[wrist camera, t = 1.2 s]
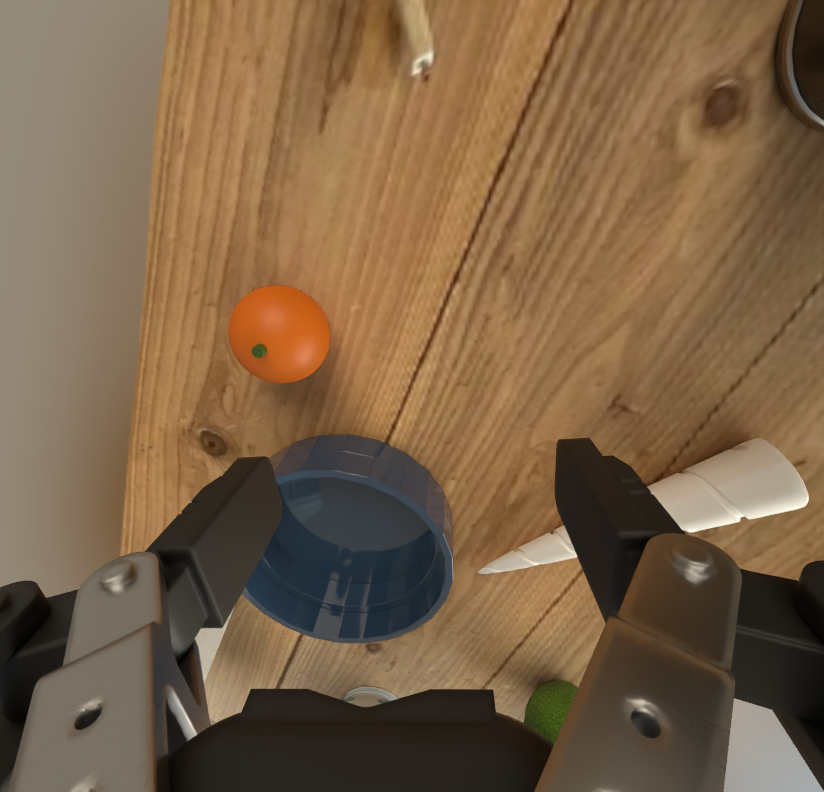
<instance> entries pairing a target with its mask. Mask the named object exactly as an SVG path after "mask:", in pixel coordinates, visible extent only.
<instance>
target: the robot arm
mask: <svg viewBox="0 0 824 792" xmlns="http://www.w3.org/2000/svg"><path fill="white" fill-rule="evenodd" d="M777 77H778V82H779V87H780V90H781V93H782V96H783V98H784V100H785V102H786V104H787V106H788V107H789V109H790V110H791V112H792V113H793V114H794V115H795V116H796V117H797V118H798V119H799V120H800V121H801V122H802V123H804V124H806V125H807V126H809V127H811V128H813V129H815V130H817V131H821V132H824V0H790V2H789V5H788V7H787V10H786V13H785V16H784V19H783V22H782V26H781V30H780V35H779V40H778V47H777ZM555 499H556V505H557V509H558V512H559V514H560V517H561V519H562V522H563V524H564V526H565V529H566V531H567V533H568V536H569V538H570V540H571V543H572V545H573V547H574V550H575V552H576V554H577V557H578V559H579V562H580V564H581V566H582V569H583V571H584V573H585V576H586V578H587V580H588V583H589V585H590V587H591V590H592V592H593V595H594V597H595V599H596V602H597V604H598V606H599V609H600V611H601V613H602V616H603V618H604V620H605V623H606V625H605V627H604V629H603V632H602V634H601V636H600V639H599V641H598V643H597V646H596V648H595V650H594V653H593V655H592V657H591V660H590V662H589V664H588V667H587V669H586V671H585V674H584V676H583V679H582V681H581V683H580V686H579V688H578V690H577V693H576V695H575V697H574V700H573V702H572V704H571V707H570V709H569V711H568V714H567V716H566V718H565V721H564V723H563V725H562V728H561V730H560V732H559V735H558V737H557V740H556V742H555V744H554V743H553V742H551V741H550V740H549V739H547V738H546V737H545V736H544V735H542V734H541V733H539V732H538V731H536V730H535V729H533V728H531V727H530V726H528V725H526V724H525V723H523V722H520V721H518V720H516V719H514V718H512V717H510V716H507V715H503V714H500V713H497V712H496V710H495V701H494V693H493V690H461V689H431V690H427V691H424V692H420V693H417V694H413V695H410V696H406V697H403V698H399V699H396V700H392V701H389V702H385V703H382V704H378V705H375V706H370V707H361V706H357V705H354V704H351V703H348V702H345V701H342V700H339V699H336V698H333V697H330V696H327V695H324V694H321V693H318V692H315V691H312V690H309V689H251V690H250V693H249V695H248V698H247V700H246V702H245V705H244V707H243V710H242V712H241V713H238V714H235V715H233V716H230V717H228V718H226V719H223V720H221V721H219V722H217V723H215V724H214V725H212V726H211V724H210V719H209V714H208V707H207V700H206V694H205V687H204V680H203V674H202V667H201V660H200V654H199V648H198V644H197V642H196V640H195V637H196V636H197V634H198V632H199V631H200V629H201V628H223V626H224V625H225V623H226V621H227V619H228V617H229V615H230V614H231V612H232V610H233V608H234V606H235V604H236V603H237V601H238V599H239V597H240V595H241V593H242V592H243V590H244V588H245V586H246V584H247V582H248V581H249V579H250V577H251V575H252V573H253V571H254V570H255V568H256V566H257V564H258V562H259V560H260V559H261V557H262V555H263V553H264V551H265V549H266V548H267V546H268V544H269V542H270V540H271V538H272V537H273V535H274V533H275V531H276V529H277V527H278V526H279V524H280V521H281V518H282V511H283V505H282V499H281V496H280V492H279V489H278V485H277V482H276V478H275V475H274V471H273V468H272V464H271V462H270V460H269V458H267V457H265V456H262V457H246V458H238V459H237V460H236V461H235V462H234V463H233V464H232V465H231V466H230V468H229V469H228V470H227V471H226V472H225V473H224V474H223V476H220V477H219V478H217V479H216V480H214V481H213V482H211V483H210V484H208V485H207V486H205V487H204V488H203V489H202V490H201V491H200V492H199V493H198V494H197V495H196V496H195V497H194V499H193V500H192V503H189V504H188V505H187V506H186V507H185V508H184V509H183V511H182V514H179V515H178V516H177V517H176V518H175V519H174V520H173V521H172V523H171V524H170V525H169V526H168V527H167V528H166V529H165V530H164V531H163V532H162V533H161V534H160V536H159V537H158V538H157V539H156V540H155V541H154V542H153V543H152V544H151V545H150V546H149V548H148V549H147V550H146V551H145V552H135V553H131V554H127V555H125V556H122V557H119V558H117V559H115V560H113V561H111V562H109V563H107V564H106V565H104V566H103V567H101V568H100V569H98V570H97V571H96V572H94V573H93V574H92V575H91V576H90V577H89V578H88V579H87V580H86V581H85V582H84V583H83V584H82V585H81V587H80V589H79V590H74V591H71V592H67V593H63V594H60V595H56V596H52V597H49V598H46V597H45V596H44V594H43V593H42V591H41V589H40V588H39V586H38V585H37V583H35V582H33V581H20V582H16V583H12V584H9V585H6V586H3V587H0V792H723V790H724V781H725V771H726V763H727V754H728V745H729V735H730V727H731V718H732V709H733V700H734V698H736V699H739V700H742V701H746V702H749V703H752V704H755V705H759V706H762V707H765V708H768V709H772V710H773V712H774V713H775V715H776V716H777V718H778V720H779V721H780V723H781V724H782V726H783V727H784V729H785V731H786V732H787V734H788V735H789V737H790V738H791V740H792V741H793V743H794V745H795V746H796V748H797V749H798V751H799V753H800V754H801V756H802V757H803V759H804V760H805V762H806V764H807V765H808V767H809V768H810V770H811V771H812V773H813V775H814V776H815V778H816V779H817V781H818V782H819V784H820V786H821V787H822V789H823V790H824V560H823V561H815V562H811V563H809V564H807V565H806V566H805V567H804V568H803V570H802V573H801V575H800V578H799V581H797V580H792V579H787V578H782V577H776V576H771V575H766V574H761V573H756V572H751V571H747V570H743V569H740V568H739V567H738V565H737V564H736V563H735V561H734V560H733V559H732V558H731V557H730V556H729V555H728V554H727V553H725V552H724V551H722V550H721V549H720V548H718V547H716V546H715V545H713V544H711V543H709V542H707V541H705V540H702V539H699V538H697V537H693V536H690V535H686V534H685V533H684V531H683V530H682V529H681V528H680V527H679V525H678V524H677V523H676V522H675V520H674V519H673V518H672V517H671V515H670V514H669V513H668V512H667V511H666V509H665V508H664V507H663V506H662V504H661V503H660V502H659V501H658V499H657V498H656V497H655V496H654V495H653V494H651V491H650V490H649V488H648V487H647V486H646V485H645V484H644V483H642V481H641V479H640V477H639V476H638V475H637V474H636V472H635V471H634V470H633V469H632V468H631V466H629V465H627V464H626V463H624V462H623V461H621V460H619V459H618V458H616V457H614V456H602V454H601V453H600V452H599V450H598V449H597V448H596V446H595V445H594V443H593V442H592V441H591V440H590V439H589V438H578V439H561V440H558V442H557V448H556V470H555Z"/></svg>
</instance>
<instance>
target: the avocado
mask: <svg viewBox="0 0 824 792" xmlns="http://www.w3.org/2000/svg"><path fill="white" fill-rule="evenodd" d="M577 690H578V687H577V686H575V685H573V684H572V683H570V682H566V681H563V680H560V681H551V682H548V683H546V684H544V685H541V686H539V687H538V688H537V689H536V690H535V691H534V693H533V694H532V696H531V697H530V699H529V701H528V703H527V705H526V712H525V719H524V723H525V724H526V725H528V726H530V727H531V728H533V729H535V730H536V731H538V732H539V733H541V734H542V735H544V736H545V737H546V738H547V739H549V740H550V741H551V742H553V743H554V744H555V742H556V740H557V737H558V735H559V732H560V730H561V728H562V725H563V723H564V721H565V718H566V716H567V714H568V711H569V709H570V707H571V704H572V702H573V700H574V697H575V695H576V693H577Z"/></svg>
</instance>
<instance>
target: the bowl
mask: <svg viewBox="0 0 824 792" xmlns="http://www.w3.org/2000/svg"><path fill="white" fill-rule="evenodd" d="M269 460H270V462H271V464H272V468H273V471H274V475H275V478H276V482H277V485H278V489H279V492H280V496H281V499H282V505H283V511H282V518H281V521H280V524H279V526H278V527H277V529H276V531H275V533H274V535H273V537H272V538H271V540H270V542H269V544H268V546H267V548H266V549H265V551H264V553H263V555H262V557H261V559H260V560H259V562H258V564H257V566H256V568H255V570H254V571H253V573H252V575H251V577H250V579H249V581H248V582H247V584H246V586H245V588H244V590H243V592H242V594H243V595H244V596H245V597H246V598H247V599H248V600H249V601H250V602H251V603H252V604H253V605H254V606H255V607H257V608H258V609H259V610H260V611H261V612H262V613H264V614H265V615H267V616H268V617H270V618H272V619H273V620H275V621H277V622H278V623H280V624H281V625H283V626H285V627H287V628H289V629H292V630H294V631H297V632H299V633H302V634H305V635H307V636H310V637H311V636H312V637H313V638H318V639H323V640H328V641H333V642H338V643H370V642H377V641H384V640H390V639H393V638H396V637H398V636H401V635H404V634H406V633H409V632H412V631H414V630H415V629H417V628H418V627H420V626H421V625H423V624H424V623H426V622H427V621H429V620H430V619H431V618H432V617H433V616H434V615H435V614H436V613H437V611H438V610H439V609H440V608H441V606H442V605H443V604H444V603H445V601H446V600H447V597H448V594H449V591H450V588H451V585H452V582H453V541H452V513H451V510H450V507H449V504H448V501H447V499H446V496H445V493H444V491H443V490H442V488H441V487H440V486H439V484H438V483H437V482H436V480H435V479H434V478H433V476H432V475H431V474H430V472H429V471H428V470H427V469H426V468H425V467H423V466H422V465H421V464H419V463H418V462H417V461H416V460H414V459H413V458H412V457H411V456H409V455H408V454H407V453H405V452H403V451H401V450H398V449H396V448H394V447H392V446H390V445H388V444H385V443H383V442H381V441H379V440H374V439H369V438H365V437H360V436H355V435H319V436H316V437H312V438H308V439H305V440H301V441H297V442H295V443H293V444H291V445H289V446H288V447H286V448H284V449H283V450H281V451H279V452H278V453H276V454H274V455H273V456H272V457H271V458H270V459H269Z"/></svg>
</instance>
